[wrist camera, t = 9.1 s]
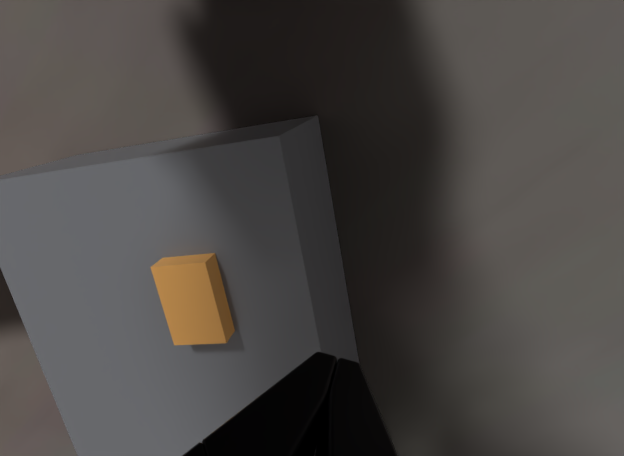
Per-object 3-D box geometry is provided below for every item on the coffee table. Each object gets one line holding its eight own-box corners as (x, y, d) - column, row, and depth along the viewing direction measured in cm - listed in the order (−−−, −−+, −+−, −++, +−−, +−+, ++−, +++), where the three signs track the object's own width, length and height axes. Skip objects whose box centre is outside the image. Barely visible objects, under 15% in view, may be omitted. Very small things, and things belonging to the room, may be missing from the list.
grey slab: (78, 154, 22) (-55, 190, 16) (317, 115, 19) (271, 139, 13) (189, 493, 28) (126, 614, 22) (382, 503, 25) (372, 646, 19)
